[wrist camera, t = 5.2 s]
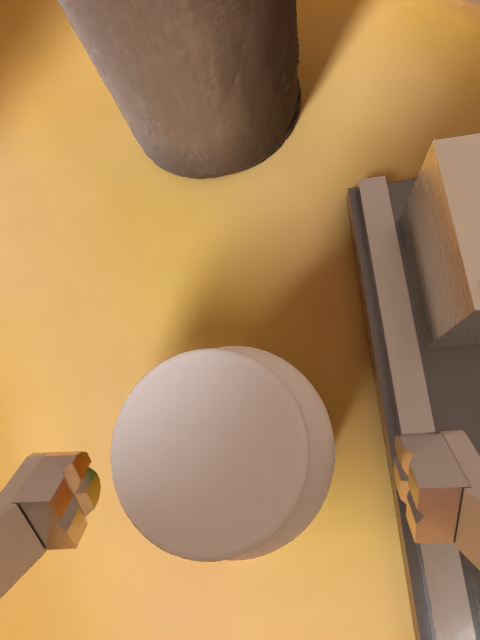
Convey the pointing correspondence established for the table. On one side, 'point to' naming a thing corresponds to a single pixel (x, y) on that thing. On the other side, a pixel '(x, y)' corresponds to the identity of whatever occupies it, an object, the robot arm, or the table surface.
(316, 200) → the table surface
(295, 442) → the supplement bottle
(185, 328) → the table surface
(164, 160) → the pillar candle
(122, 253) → the table surface
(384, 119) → the table surface
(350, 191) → the rail plate
